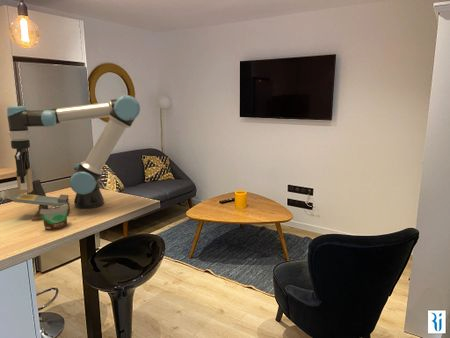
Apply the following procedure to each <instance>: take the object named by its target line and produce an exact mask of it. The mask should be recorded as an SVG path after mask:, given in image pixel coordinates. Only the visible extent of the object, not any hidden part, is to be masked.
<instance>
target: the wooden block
mask: <svg viewBox="0 0 450 338" xmlns="http://www.w3.org/2000/svg"><path fill="white" fill-rule="evenodd" d="M15 176H16V182H17V190H18V194H20V193H22V194H28V193H31V192H32V191H33V184H32V182H33V176H32V168H31V167H30V168H25V176H26V180H27V188H28V189H27V190H21V188H20V180H19V177H17V169H16V170H15Z"/></svg>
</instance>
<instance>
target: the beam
mask: <svg viewBox="0 0 450 338" xmlns="http://www.w3.org/2000/svg"><path fill="white" fill-rule="evenodd" d="M69 201H70V200H69V194H60V195H59V196H58V197H56V196H49V195H46V196H40V195H31V194H28V193H18V195H17V196H15V198H14V199H13V202H14V203H18V204H19V203H21V204H30V205H38V206H39V205H48V207H53V206H60V205H63V204H65V202H66V203H69Z"/></svg>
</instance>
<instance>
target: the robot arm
mask: <svg viewBox="0 0 450 338" xmlns="http://www.w3.org/2000/svg"><path fill="white" fill-rule="evenodd" d="M140 111H141V105H140V102H139V101H138V100H137V98H136V97H133V96H132V95H128V94H127V95H126V94H125V95H121V96H120V97H118V98H114V99H109V100H108V101H106V102H99V103H91V104H90V103H89V104H83V105H82V104H81V105H73V106H66V107H57V108H49V109H38V110H37V109H36V110H30V109H29V110H27V108H26V106H25V105H18V106H17V105H9V106H7V108H6V115H7V116H6V117H7V122H8V130H9V132H8V135H9V137H10V147H11V149H14V150H16V152H15V154H14V160H15V167H16V170H17V176H16V178H17V177H19V180H20V188H21V190H27V189H28V188H27V180H26V176H25V168H31V165H30V159H29V157H30V156H29V150H27V149H29V148H30V147H31V142H30V133H29V127H30V128H31V127H49V128H50V127H55V126H56V125H57V124H63V123H70V122H80V121H86V120H94V119H102V118H104V119H105V118H108V119H109V120H108V122H107V124H106V125H105V127H104V128H103V129H102V132H101V134H100V135H99V137H98V139H97V140H96V142H95V144H93V147H92V149H91V150H90V152H89V154H88V156H86V159H85V160H84V161H81V162H80V163H75V164H74V167H73V170H74V173H73V174H72V175H71V176H70V178H69V186H70V188H71V190H72V191H73V192H74V193H75V197H74V201H73V206H74V208H75V209H84V210H85V209H87V210H88V209H94V208H98V207H101V206H103V205H105V199H104V197H103V194H102V192H101V189H100V179H101V176H102V175H103V171H102V169H103V168H104V165H105V164H106V162H107V160H108V159H109V157H110V155H111V154H112V153H113V151H114V149H115V147H116V145H117V144H118V142H119V140H120V139H121V137H122V135H123V134H124V132H125V131H126V129H127V128H131V127H132V124H133V123H134V122H135V120H136V118H137V117H138V116H139V114H140Z"/></svg>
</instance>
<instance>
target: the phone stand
mask: <svg viewBox="0 0 450 338" xmlns="http://www.w3.org/2000/svg"><path fill="white" fill-rule="evenodd" d="M32 184H33V191H32V192H31V193H27V194H31V195H40V196H47V195H46V193H45V190H44V188H43V186H42V181H41V180H40V179H36V180H32Z"/></svg>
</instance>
